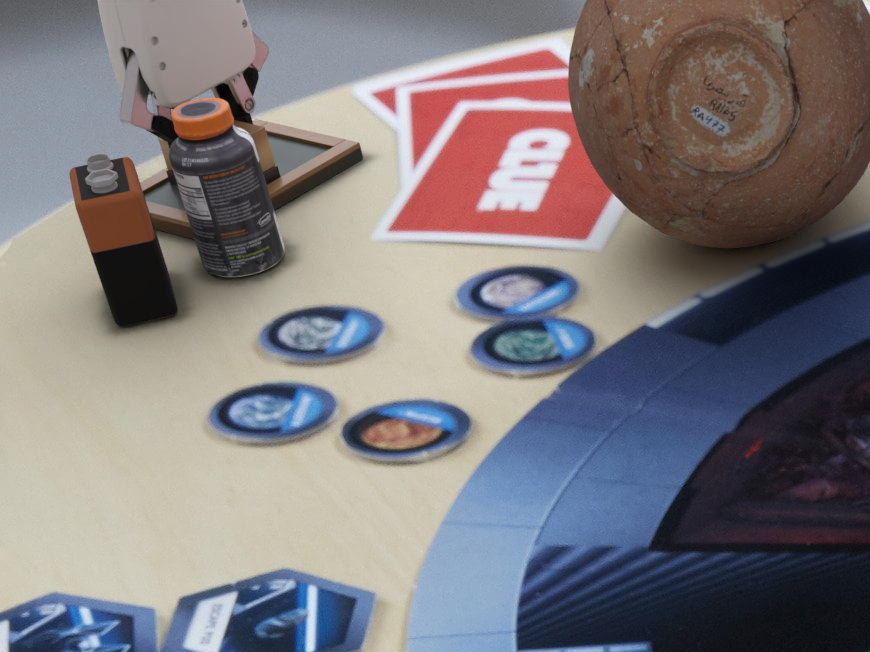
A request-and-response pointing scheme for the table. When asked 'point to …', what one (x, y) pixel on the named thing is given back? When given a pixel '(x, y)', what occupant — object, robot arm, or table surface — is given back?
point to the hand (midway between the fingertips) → (223, 175)
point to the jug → (724, 111)
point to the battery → (122, 240)
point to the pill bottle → (223, 190)
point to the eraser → (262, 149)
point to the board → (299, 169)
